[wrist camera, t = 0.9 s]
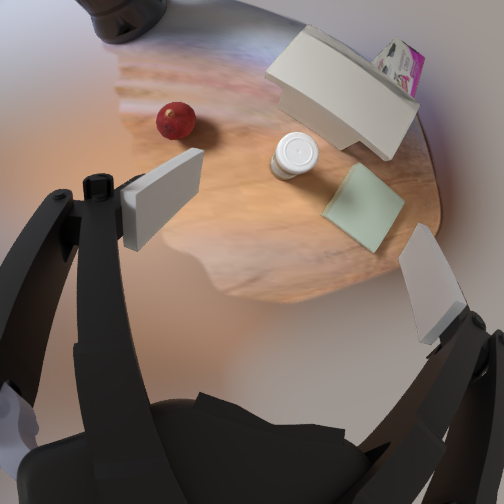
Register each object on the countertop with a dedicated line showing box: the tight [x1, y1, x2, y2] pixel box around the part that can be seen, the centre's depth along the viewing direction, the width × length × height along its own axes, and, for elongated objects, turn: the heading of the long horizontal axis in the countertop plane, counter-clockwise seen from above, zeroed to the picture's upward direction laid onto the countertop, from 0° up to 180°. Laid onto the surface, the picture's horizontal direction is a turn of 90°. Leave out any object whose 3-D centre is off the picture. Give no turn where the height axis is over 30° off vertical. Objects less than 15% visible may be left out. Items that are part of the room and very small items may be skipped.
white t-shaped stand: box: [265, 24, 420, 161], centre depth 29 cm, size 12×7×22 cm, turn 57°
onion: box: [156, 102, 196, 140], centre depth 35 cm, size 6×6×8 cm
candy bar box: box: [371, 37, 425, 98], centre depth 30 cm, size 11×5×16 cm, turn 154°
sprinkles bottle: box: [269, 132, 319, 180], centre depth 34 cm, size 5×5×14 cm
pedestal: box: [321, 163, 405, 253], centre depth 40 cm, size 10×10×3 cm
